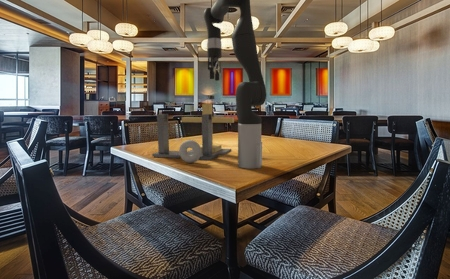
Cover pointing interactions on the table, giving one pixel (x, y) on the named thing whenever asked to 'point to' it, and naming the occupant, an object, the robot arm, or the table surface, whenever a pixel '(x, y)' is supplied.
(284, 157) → the table surface
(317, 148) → the table surface
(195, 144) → the donut
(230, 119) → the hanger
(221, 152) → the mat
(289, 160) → the table surface
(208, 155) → the stand
